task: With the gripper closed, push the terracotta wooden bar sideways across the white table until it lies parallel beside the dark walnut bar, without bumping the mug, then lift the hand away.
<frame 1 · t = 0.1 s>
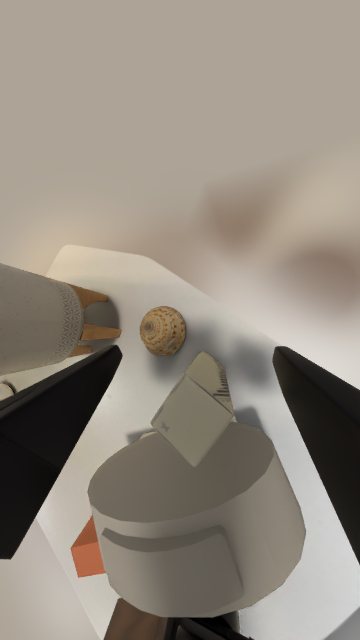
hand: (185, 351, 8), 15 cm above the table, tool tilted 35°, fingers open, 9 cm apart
planter: (97, 323, 28), on the table
mug: (10, 398, 35), on the table
alarm clock: (190, 439, 22), on the table
box: (204, 368, 22), on the table
walnut bar: (145, 611, 22), on the table
seashell: (165, 330, 24), on the table
terracotta bar: (114, 521, 24), on the table
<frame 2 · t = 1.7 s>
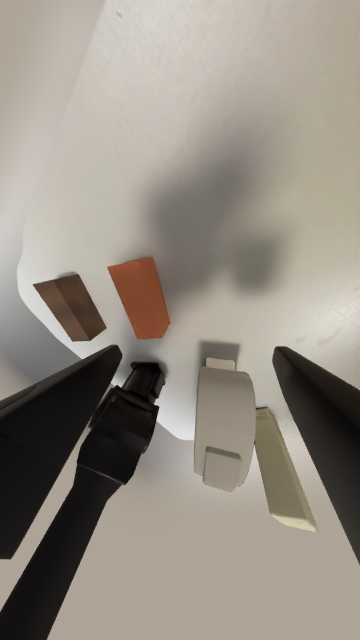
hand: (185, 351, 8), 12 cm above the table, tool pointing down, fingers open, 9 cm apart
alarm clock: (215, 387, 27), on the table
box: (261, 414, 28), on the table
walnut bar: (85, 305, 23), on the table
terracotta bar: (150, 295, 20), on the table
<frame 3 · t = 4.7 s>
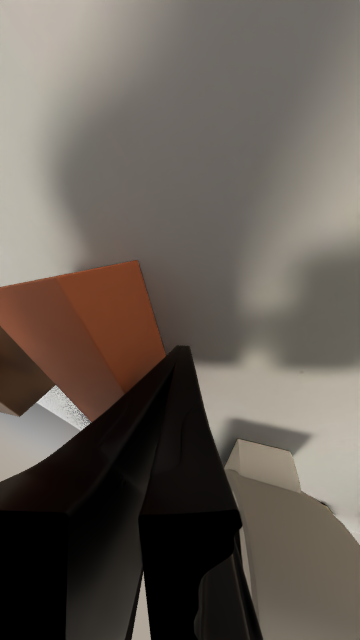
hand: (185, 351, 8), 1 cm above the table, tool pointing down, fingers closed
alarm clock: (243, 467, 17), on the table
walnut bar: (20, 341, 13), on the table
terracotta bar: (136, 340, 9), on the table, touching gripper
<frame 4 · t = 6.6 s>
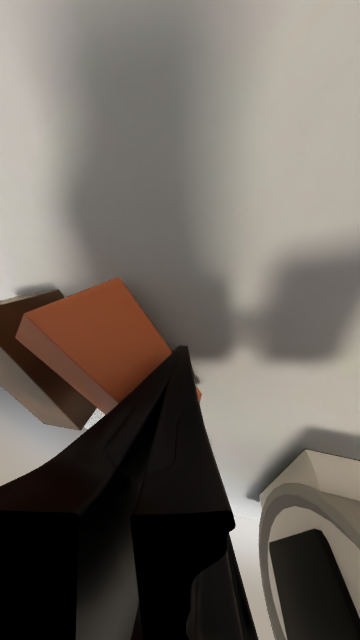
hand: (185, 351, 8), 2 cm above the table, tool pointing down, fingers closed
alarm clock: (295, 480, 16), on the table
walnut bar: (73, 346, 12), on the table
terracotta bar: (148, 350, 10), on the table, tilted 13°, touching gripper
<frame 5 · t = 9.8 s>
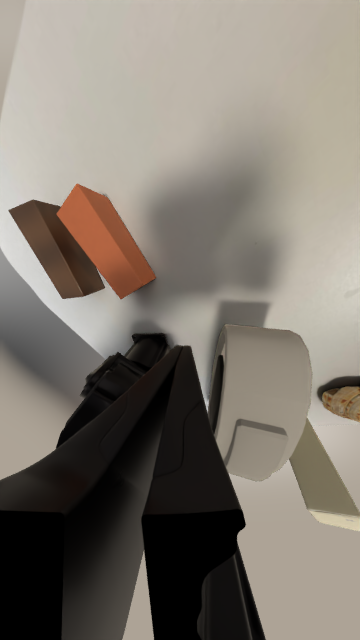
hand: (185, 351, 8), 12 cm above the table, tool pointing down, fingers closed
alarm clock: (230, 364, 23), on the table
box: (281, 397, 25), on the table
walnut bar: (79, 255, 19), on the table
seashell: (350, 392, 21), on the table
terracotta bar: (124, 250, 17), on the table
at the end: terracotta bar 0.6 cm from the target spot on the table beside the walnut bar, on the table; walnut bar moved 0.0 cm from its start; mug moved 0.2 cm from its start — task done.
